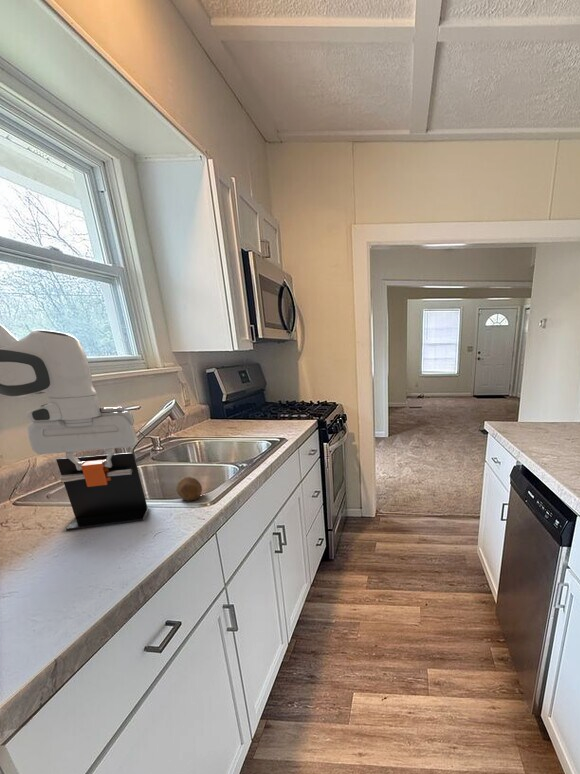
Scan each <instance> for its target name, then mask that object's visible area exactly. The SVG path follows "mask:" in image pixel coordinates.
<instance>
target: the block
mask: <svg viewBox="0 0 580 774" xmlns="http://www.w3.org/2000/svg"><path fill="white" fill-rule="evenodd" d="M102 461H103V460H94V461H86V462H85V463H84V464H82V465H81V467H82V470H83V474H84V477H85V480H86V483H87V487H92V486H101V485H107V484H108V483H107V481H111V477H110V478H106V477H105V473H104V471H109V470H108V468H104V466H103V463H102Z"/></svg>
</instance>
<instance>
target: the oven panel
mask: <svg viewBox="0 0 580 774" xmlns="http://www.w3.org/2000/svg"><path fill="white" fill-rule="evenodd" d="M107 456H108V454H99V455H87V456H76V457H77V458H78V459H79V460H80V461H85V462H86V461H94V460H104V459H107ZM55 460H56V463H57V464H56V465H57V466H58V470H59V472H60V475H59V479H60V480H59V481H60V482H61V483H63V484H64V487H65V491H66V494H67V497H68V500H69V503H70V507H71V509H72V512H73V515H74V519H73V520H72V521H71V522H70V523H69V524H68V526H67V527H66V528H65V530H66V532H68V531H69V532H71V531H77V530H84V529H93V528H100V527H101V528H102V527H106V526H107V527H108V526H115V525H122V524H123V525H124V524H130V523H137V522H143V521H145V518H146V516H147V514H148V512H149V507H148V504H147V499H146V495H145V492H144V488H143V485H142V480H141V476H140V472H139V468H138V465H137V461H136V456H135V452H121V453H113V455H112V458H111V462H112V467H111V468H108V470H109V471H104V473H105V477H106V478H110V477H111V481H107V483H108V484H107V485H101V486H92V487H87V483H86V480H85V477H84V474H83V470H79V471H78V470H77V468H76V465H75V464H74V463H73V462H72V461H71V460H70V459H69V458H67V457H60V458H56V459H55Z"/></svg>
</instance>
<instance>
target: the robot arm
mask: <svg viewBox="0 0 580 774" xmlns="http://www.w3.org/2000/svg"><path fill="white" fill-rule="evenodd" d="M92 377H93V374H92V371H91V367H90V364H89V360H88V357H87V355H86V352H85V350H84V347H83V345H82V343H81V342H80V341H79V339H78V338H77V337H75V336H73V335H72V334H70V333H67V332H62V331H56V330H49V329H39V328H37V329H33V330H31V331H30V333H29V334H27V335H26V336H24V337H23V338H21V339H20V338H18V337H17V336H16V335H14V334H13V333H12V332H11V331H10V330H9V329H8V328H6V327H5V326H4V325H3V324H2V323H1V322H0V395H3V396H7V397H12V398H22V397H27V396H32V395H33V396H34V395H42V394H45V393H46V395H47V397H48V401H49V403H45V404H42V405H40V406H38V407H36V408H32V409H30V410H28V411H26V413H25V417H26V419H27V420H28V421H29V422H30V423H29V424H28V426H27V435H28V440H29V444H30V447H31V449H32V451H33V452H34V453H35V454H37V455H50V454H51V455H52V454H62V453H65V456H66V458H69V459H70V460H71V461H72V462H73V463H74V464H75V465H76V468H77V470H78V471H79V470H82V467H81V465H82V464H84V463H85V461H80V460H79V459H78V458H77V457H78V456H76V455H77V454H78V453H77V452H88V451H99V450H100V451H102V450H103V451H104V455H108V456H107V459H104V460H103V461H102V463H103V466H104V468H111V467H112V462H111V458H112V455H113V454H115V450H114V449H127V448H134V447H135V446H136V445H137V444H138V442H139V438H138V435H137V432H136V429H135V426H134V423H135V420H134V416H133V413H132V412H131V411H130V410H129V409H127V408H124V407H122V406H117V407H101V402H100V399H99V396H98V392H97V390H96V389H95V387H94V385H93V381H92Z"/></svg>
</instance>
